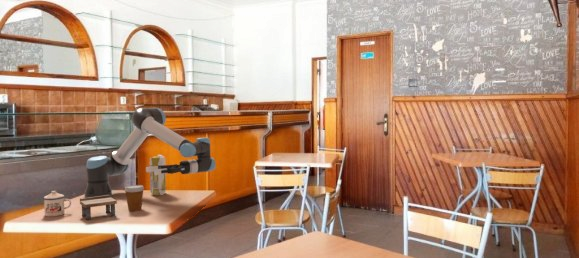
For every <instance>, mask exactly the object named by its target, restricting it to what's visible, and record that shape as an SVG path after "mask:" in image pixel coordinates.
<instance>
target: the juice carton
mask: <svg viewBox="0 0 579 258" xmlns="http://www.w3.org/2000/svg"><path fill="white" fill-rule="evenodd" d="M158 165H167V164H166V157H165V155H163V154H157V156H153V157H150V158H149V167H153V166H158ZM149 187H150V188H149V189H150V195H151V196H162V195H165V194H166V191H167V190H166V189H167V174H159V175H154V172H149Z"/></svg>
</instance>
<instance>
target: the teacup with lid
mask: <svg viewBox="0 0 579 258" xmlns="http://www.w3.org/2000/svg"><path fill="white" fill-rule="evenodd" d="M65 201H67V202H69V203H68V204H69V205H68V206H66V207H65ZM43 205H44V207H43V208H44V216H45V217H58V216H59V217H60V216H62V215H64V214H65V210H67V209H69V208H71V205H72V201H71V199H69V198H65V195H64V194H62V193H58V192H57V190H51V193H49V194H48V195H45V196H44V197H43Z"/></svg>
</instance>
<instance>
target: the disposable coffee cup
mask: <svg viewBox="0 0 579 258" xmlns="http://www.w3.org/2000/svg"><path fill="white" fill-rule="evenodd" d="M144 189H145V187H144V185H142V184H134V185H133V184H132V185H128V186H125V187H124V192H125V197H126V203H127V208H128V209H127V210H128V211H129V212H138V211H141V210H142V205H143V196H144Z"/></svg>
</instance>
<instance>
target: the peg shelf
mask: <svg viewBox="0 0 579 258" xmlns="http://www.w3.org/2000/svg"><path fill="white" fill-rule="evenodd" d="M79 204H80V205H81V216H82V217H85V218H86V219H85V220H86V221H91V220H92V217H91V216H92V212H91V208H95V207H96V208H97V207H103V206H105V213H106V214H109V213H110V217H116V205H118V202H117V200H116V199H114V198H113V197H112V195H111V196H110V195H104V196H96V197H88V198H85V197H81V198H79Z"/></svg>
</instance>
